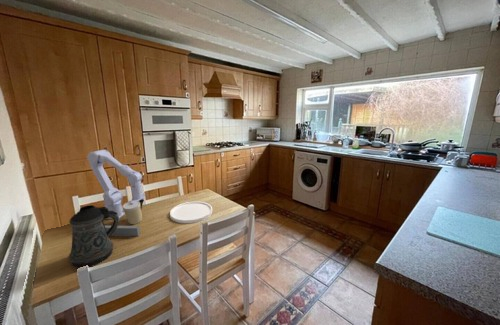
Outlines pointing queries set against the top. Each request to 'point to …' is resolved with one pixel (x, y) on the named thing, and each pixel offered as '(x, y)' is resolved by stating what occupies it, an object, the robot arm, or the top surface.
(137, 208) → the coffee cup
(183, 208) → the plate
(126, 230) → the plank
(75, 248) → the beer stein
